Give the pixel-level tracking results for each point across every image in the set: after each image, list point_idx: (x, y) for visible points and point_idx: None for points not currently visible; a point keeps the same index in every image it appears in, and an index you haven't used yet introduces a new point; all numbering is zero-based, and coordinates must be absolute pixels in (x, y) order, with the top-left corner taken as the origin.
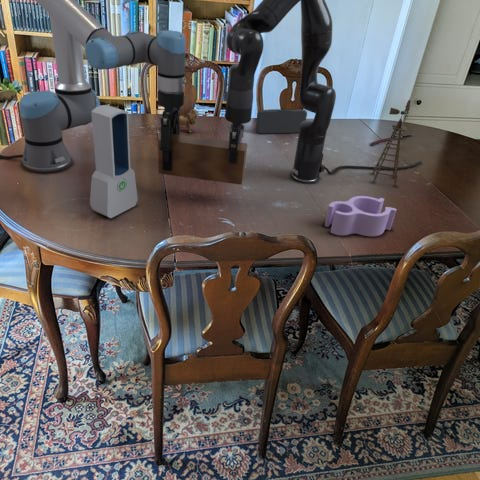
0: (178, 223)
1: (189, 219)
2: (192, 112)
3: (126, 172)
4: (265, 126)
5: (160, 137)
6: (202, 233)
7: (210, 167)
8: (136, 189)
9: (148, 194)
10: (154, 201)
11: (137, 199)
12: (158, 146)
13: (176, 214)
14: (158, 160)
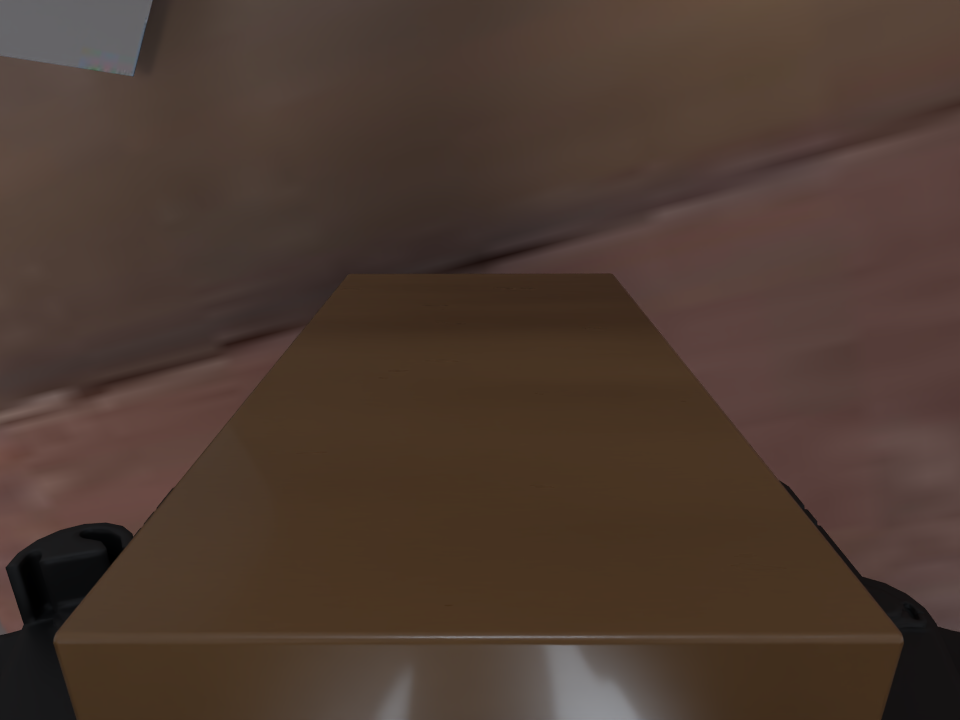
0: (39, 471)
1: (129, 525)
2: None
3: None
4: None
5: (288, 662)
6: (3, 624)
7: None
8: (34, 60)
9: (393, 114)
10: (282, 211)
11: (121, 73)
12: (183, 479)
13: (154, 431)
14: (301, 334)
